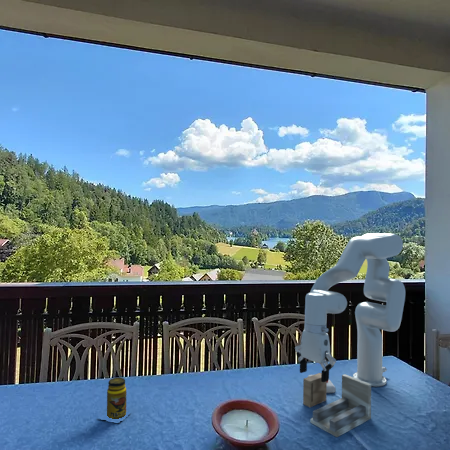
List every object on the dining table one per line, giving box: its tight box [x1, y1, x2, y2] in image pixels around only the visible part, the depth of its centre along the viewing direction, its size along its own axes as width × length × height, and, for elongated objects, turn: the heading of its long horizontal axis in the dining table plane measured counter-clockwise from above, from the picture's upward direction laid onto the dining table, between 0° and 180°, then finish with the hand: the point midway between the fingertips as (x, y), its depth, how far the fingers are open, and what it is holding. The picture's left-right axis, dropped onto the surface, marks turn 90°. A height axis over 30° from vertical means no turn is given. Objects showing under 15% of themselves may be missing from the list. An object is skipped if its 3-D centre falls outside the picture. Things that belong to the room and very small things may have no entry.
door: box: [302, 372, 327, 408], centre depth 130 cm, size 9×3×9 cm, turn 127°
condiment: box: [106, 376, 127, 419], centre depth 119 cm, size 7×8×12 cm
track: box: [309, 373, 372, 438], centre depth 118 cm, size 18×10×11 cm, turn 127°
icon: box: [307, 374, 337, 394], centre depth 143 cm, size 12×4×10 cm
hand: (313, 376), depth 130 cm, fingers open, 9 cm apart
